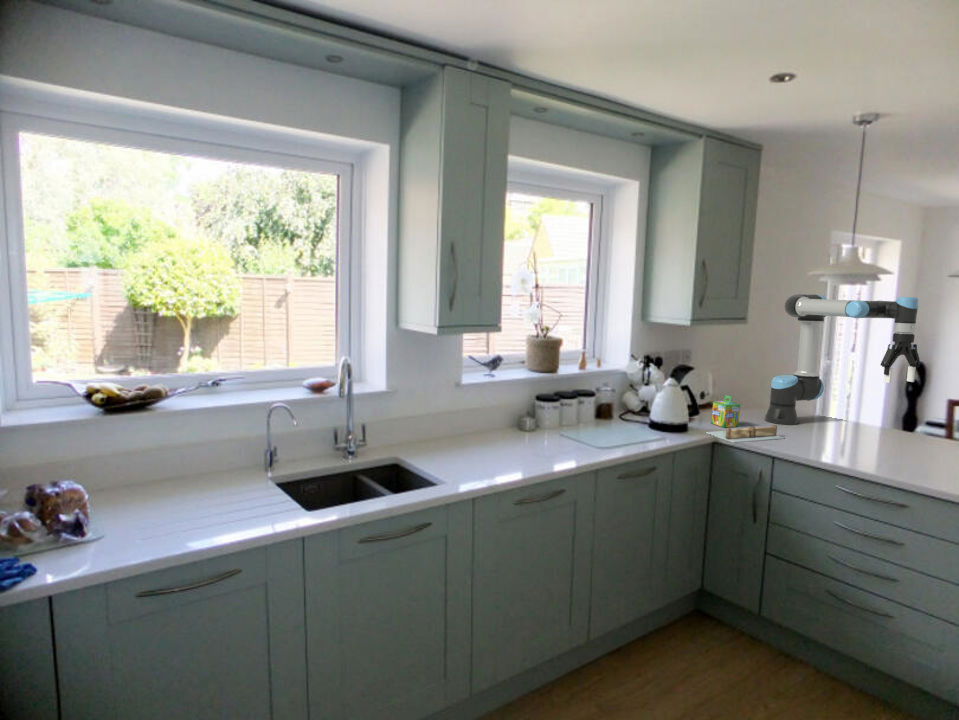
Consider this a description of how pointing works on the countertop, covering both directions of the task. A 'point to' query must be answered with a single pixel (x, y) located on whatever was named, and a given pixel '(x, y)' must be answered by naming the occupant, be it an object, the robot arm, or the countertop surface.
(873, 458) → the countertop surface
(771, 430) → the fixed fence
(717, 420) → the chalk box
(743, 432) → the tan wooden bar
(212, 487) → the countertop surface
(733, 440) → the card
